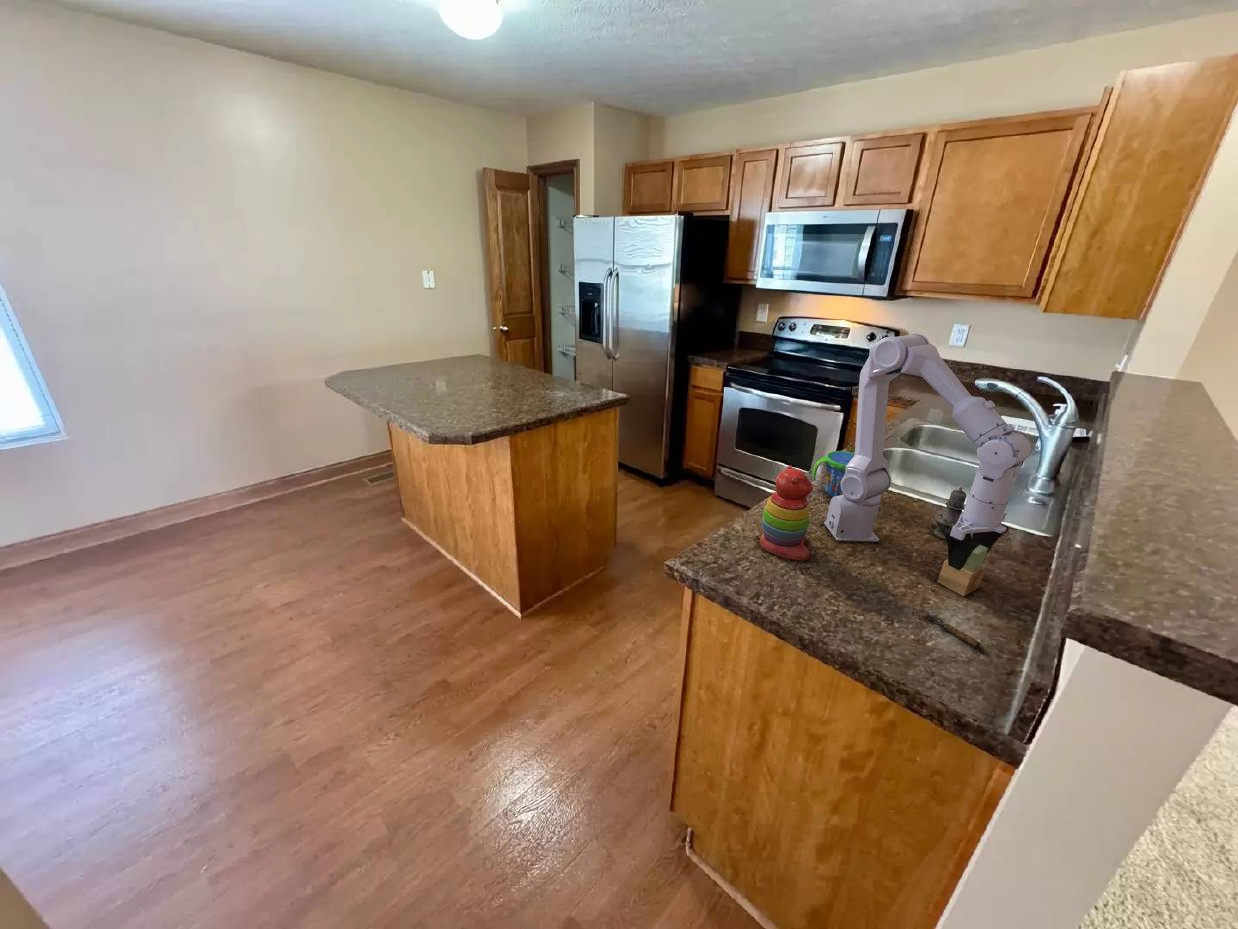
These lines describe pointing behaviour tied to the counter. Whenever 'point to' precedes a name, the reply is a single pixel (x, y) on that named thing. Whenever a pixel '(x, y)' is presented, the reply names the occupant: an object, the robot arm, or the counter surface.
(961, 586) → the base block
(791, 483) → the stacking bear
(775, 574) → the counter surface
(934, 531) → the grey fire hydrant
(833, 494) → the snack cup
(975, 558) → the top cube
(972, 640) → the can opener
